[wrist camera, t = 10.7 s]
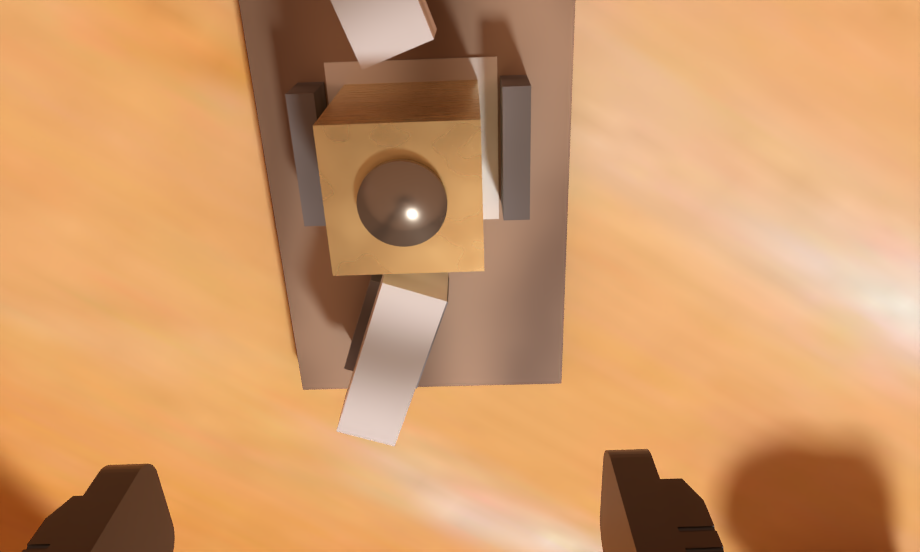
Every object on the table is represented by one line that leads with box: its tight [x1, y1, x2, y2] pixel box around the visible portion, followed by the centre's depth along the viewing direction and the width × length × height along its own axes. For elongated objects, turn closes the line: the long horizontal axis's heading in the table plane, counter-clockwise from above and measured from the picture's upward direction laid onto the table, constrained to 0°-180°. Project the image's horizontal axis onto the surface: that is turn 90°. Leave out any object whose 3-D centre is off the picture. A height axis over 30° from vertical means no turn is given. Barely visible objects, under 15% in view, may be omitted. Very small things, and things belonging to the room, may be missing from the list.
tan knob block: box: [313, 80, 484, 276], centre depth 24 cm, size 5×5×6 cm
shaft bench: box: [239, 0, 575, 446], centre depth 26 cm, size 12×23×6 cm, turn 2°
